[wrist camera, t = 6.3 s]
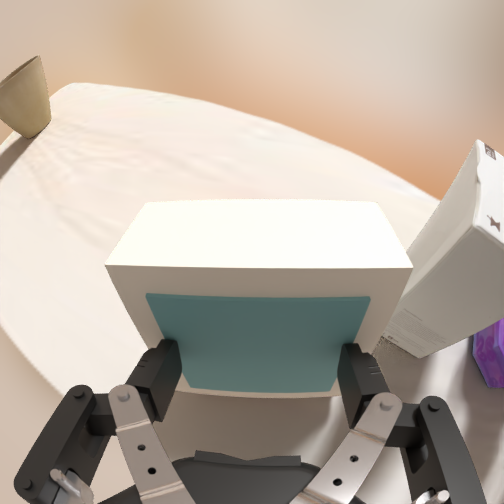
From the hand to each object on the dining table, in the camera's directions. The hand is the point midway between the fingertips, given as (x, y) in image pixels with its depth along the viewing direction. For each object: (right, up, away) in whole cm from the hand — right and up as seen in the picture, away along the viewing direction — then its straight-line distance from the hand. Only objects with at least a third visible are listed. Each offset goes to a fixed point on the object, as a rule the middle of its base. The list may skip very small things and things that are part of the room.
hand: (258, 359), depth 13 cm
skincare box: (+14, 0, +9) cm, 16 cm away
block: (0, -3, +6) cm, 7 cm away
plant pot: (-48, +33, +30) cm, 65 cm away
